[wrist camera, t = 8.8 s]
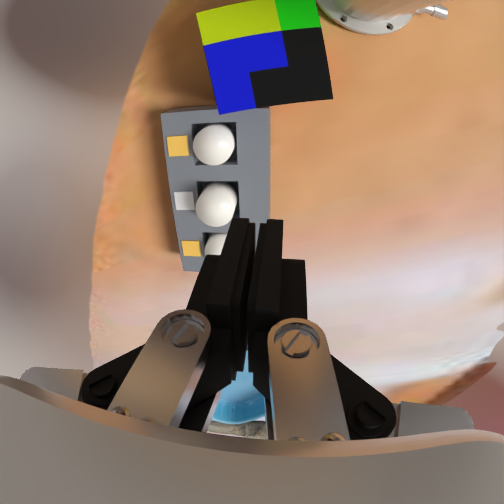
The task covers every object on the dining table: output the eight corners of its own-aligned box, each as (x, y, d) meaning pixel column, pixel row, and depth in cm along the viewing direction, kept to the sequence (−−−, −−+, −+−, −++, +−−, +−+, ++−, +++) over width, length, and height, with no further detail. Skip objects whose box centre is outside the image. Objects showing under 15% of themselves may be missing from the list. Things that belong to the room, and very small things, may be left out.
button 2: (240, 225, 41) (237, 239, 38) (242, 252, 43) (238, 267, 40) (208, 224, 41) (202, 238, 38) (211, 251, 43) (206, 266, 41)
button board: (270, 104, 33) (268, 108, 29) (269, 257, 45) (267, 275, 42) (172, 108, 34) (159, 114, 30) (190, 254, 46) (183, 271, 43)
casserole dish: (232, 409, 76) (229, 431, 70) (161, 376, 69) (153, 399, 63) (337, 354, 58) (340, 384, 52) (251, 302, 51) (246, 335, 45)
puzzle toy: (235, 102, 33) (219, 114, 25) (218, 26, 27) (195, 13, 19) (319, 90, 31) (333, 99, 23) (305, 13, 26) (313, -7, 17)
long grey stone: (181, 406, 82) (188, 418, 88) (177, 421, 78) (184, 431, 84) (298, 421, 77) (295, 431, 83) (296, 437, 72) (294, 446, 79)
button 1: (236, 120, 33) (231, 126, 30) (237, 156, 35) (233, 165, 32) (199, 122, 33) (191, 128, 30) (202, 156, 36) (194, 165, 33)
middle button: (237, 180, 35) (232, 192, 33) (238, 213, 38) (234, 227, 35) (201, 180, 36) (193, 192, 33) (204, 212, 38) (197, 226, 35)
